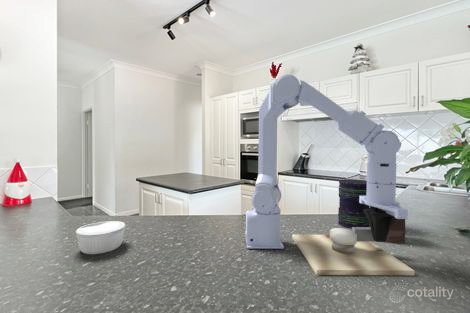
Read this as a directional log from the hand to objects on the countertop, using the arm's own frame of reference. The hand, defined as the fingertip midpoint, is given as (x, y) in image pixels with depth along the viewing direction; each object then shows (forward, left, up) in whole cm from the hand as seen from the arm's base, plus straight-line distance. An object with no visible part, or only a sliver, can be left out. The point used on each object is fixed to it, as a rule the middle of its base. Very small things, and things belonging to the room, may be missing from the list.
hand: (379, 240), depth 54 cm
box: (+11, +13, -5) cm, 18 cm away
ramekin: (-68, +6, -5) cm, 68 cm away
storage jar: (+7, +25, -5) cm, 27 cm away
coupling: (-4, +3, -1) cm, 5 cm away
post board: (-7, +3, -4) cm, 9 cm away
